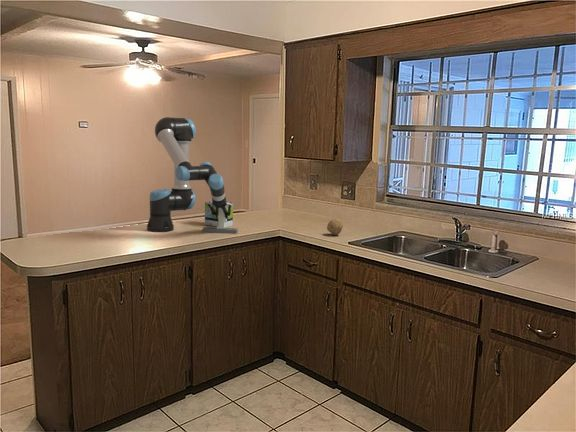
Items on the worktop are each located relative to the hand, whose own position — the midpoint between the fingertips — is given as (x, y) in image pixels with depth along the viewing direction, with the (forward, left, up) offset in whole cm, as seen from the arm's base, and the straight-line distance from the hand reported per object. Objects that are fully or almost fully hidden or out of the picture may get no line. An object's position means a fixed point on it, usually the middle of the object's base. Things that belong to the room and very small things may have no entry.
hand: (222, 220), depth 276 cm
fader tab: (0, -3, -4) cm, 5 cm away
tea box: (-5, +17, -6) cm, 18 cm away
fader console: (-1, -3, -6) cm, 7 cm away
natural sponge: (+66, 0, -6) cm, 66 cm away
